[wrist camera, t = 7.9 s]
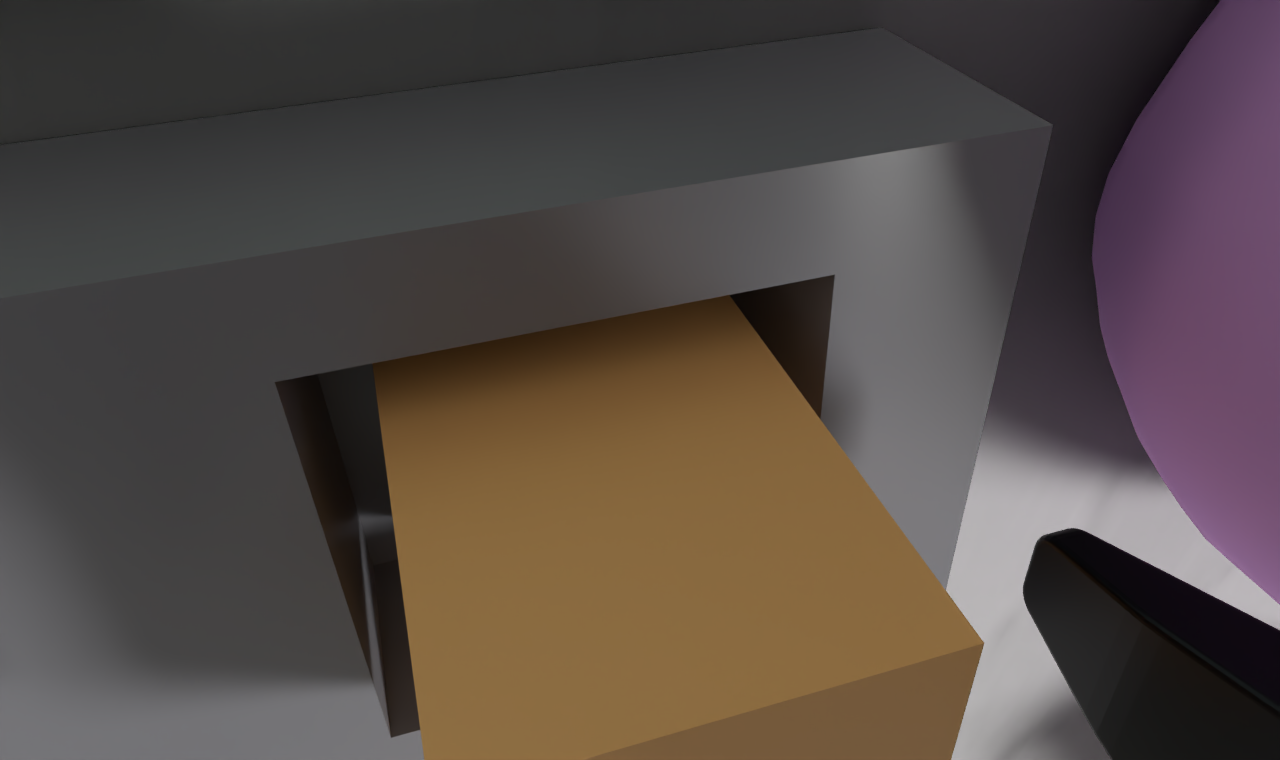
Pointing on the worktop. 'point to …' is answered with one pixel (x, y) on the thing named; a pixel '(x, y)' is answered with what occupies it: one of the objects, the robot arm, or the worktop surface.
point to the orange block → (654, 556)
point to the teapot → (1204, 282)
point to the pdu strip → (441, 348)
